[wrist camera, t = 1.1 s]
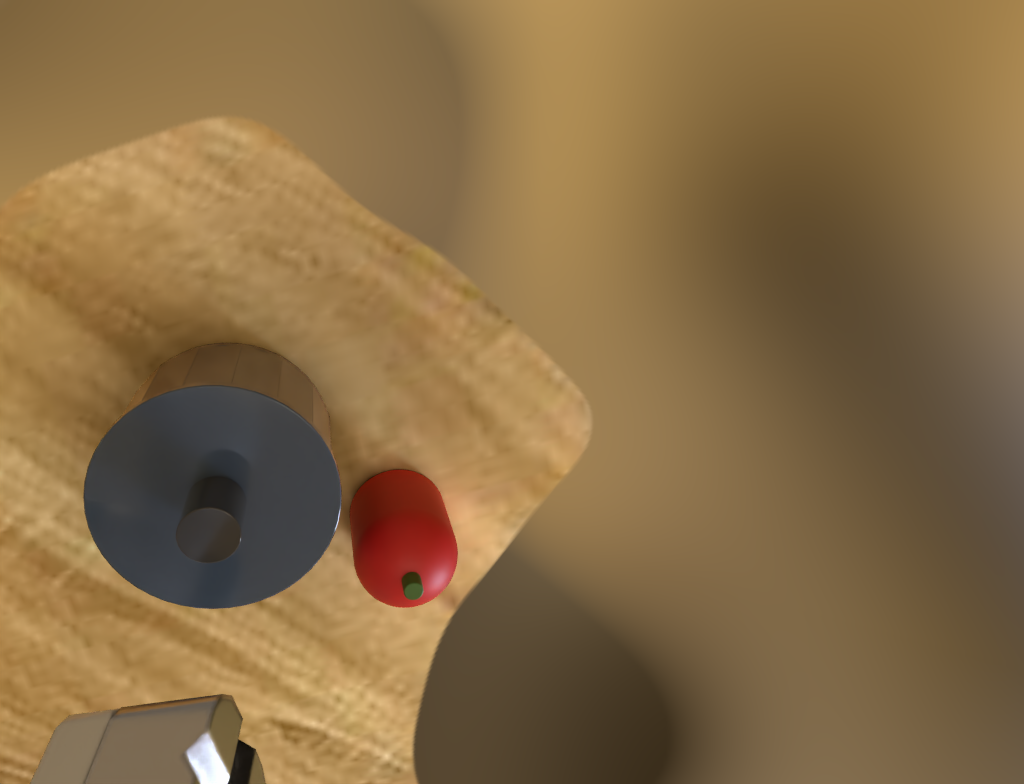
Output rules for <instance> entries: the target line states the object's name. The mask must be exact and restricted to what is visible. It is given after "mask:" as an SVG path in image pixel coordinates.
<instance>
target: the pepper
mask: <svg viewBox="0 0 1024 784" xmlns="http://www.w3.org/2000/svg"><path fill="white" fill-rule="evenodd" d="M350 525H351V536H352V547H353V558H354V566H355V570H356V573H357V576H358V578H359V580H360V582H361V584H362V585H363V587H364V588H365V589H366V590H367V591H368V593H369V594H371V595H372V596H373V597H374V598H376V599H377V600H379V601H381V602H383V603H385V604H387V605H390V606H394V607H403V608H405V607H414V606H418V605H422V604H424V603H427V602H429V601H430V600H432V599H434V598H435V597H437V596H438V595H439V594H440V593H441V592H442V591H443V590H444V589H445V588H446V586H447V585H448V584H449V582H450V581H451V579H452V577H453V574H454V571H455V569H456V564H457V555H458V551H457V543H456V539H455V536H454V533H453V530H452V527H451V524H450V521H449V517H448V514H447V511H446V508H445V505H444V502H443V499H442V496H441V494H440V492H439V490H438V488H437V487H436V486H435V485H434V483H432V482H431V481H430V480H429V479H428V478H426V477H425V476H423V475H421V474H419V473H416V472H413V471H409V470H391V471H386V472H383V473H380V474H378V475H376V476H374V477H372V478H371V479H369V480H368V481H366V482H365V483H364V484H363V485H362V486H361V487H360V489H359V490H358V491H357V493H356V494H355V496H354V498H353V500H352V503H351V507H350Z"/></svg>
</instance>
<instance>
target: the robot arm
mask: <svg viewBox="0 0 1024 784" xmlns="http://www.w3.org/2000/svg"><path fill="white" fill-rule="evenodd" d="M242 720H243V718H242V716H241V714H240V712H239V710H238V708H237V705H236V703H235V701H234V699H233V697H232V696H231V695H224V694H220V695H213V696H205V697H197V698H190V699H182V700H174V701H166V702H159V703H151V704H143V705H136V706H128V707H121V708H120V709H112V710H104V711H97V712H89V713H81V714H74V715H69V716H68V717H67V718H66V719H65V720H64V721H63V722H62V723H61V724H60V725H58V726H57V727H56V729H55V730H54V732H53V734H52V736H51V738H50V741H49V743H48V745H47V747H46V749H45V752H44V754H43V756H42V758H41V760H40V762H39V765H38V767H37V769H36V771H35V773H34V775H33V778H32V780H31V782H30V784H266V783H265V778H264V773H263V768H262V764H261V762H260V759H259V757H258V754H257V752H256V749H254V748H252V747H251V746H249V745H247V744H246V743H244V742H242V741H241V740H239V739H238V738H239V733H240V729H241V724H242Z"/></svg>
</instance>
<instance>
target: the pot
mask: <svg viewBox="0 0 1024 784" xmlns="http://www.w3.org/2000/svg"><path fill="white" fill-rule="evenodd" d="M197 382H230V383H238V384H243V385H247V386H251V387H255V388H258V389H261V390H264V391H266V392H269V393H271V394H274V395H275V396H277V397H279V398H281V399H283V400H285V401H287V402H288V403H290V404H291V405H293V406H294V407H295V408H297V409H298V410H300V411H301V412H302V413H303V414H304V415H305V416H306V417H307V418H309V419H310V420H311V421H312V422H313V424H314V425H315V426H316V427H317V428H318V429H319V431H320V432H321V433H322V435H323V436H324V438H325V439H326V441H327V443H328V444H329V446H330V448H331V450H332V444H331V428H330V416H329V413H328V411H327V409H326V406H325V404H324V401H323V399H322V397H321V395H320V393H319V392H318V390H317V388H316V387H315V385H314V384H313V383H312V382H311V380H310V379H309V378H308V377H307V376H306V375H305V374H304V373H303V372H302V371H301V370H300V369H299V368H298V367H297V366H295V365H294V364H292V363H291V362H290V361H288V360H287V359H285V358H283V357H281V356H279V355H278V354H276V353H273V352H271V351H268V350H266V349H263V348H260V347H256V346H252V345H247V344H239V343H217V344H208V345H204V346H200V347H195V348H193V349H190V350H187V351H185V352H182V353H180V354H178V355H176V356H175V357H173V358H171V359H169V360H168V361H167V362H165V363H163V364H162V365H160V367H159V368H157V369H156V370H155V371H154V372H153V373H152V374H151V375H150V376H149V378H148V379H147V380H146V381H145V383H144V384H143V385H142V386H141V387H140V388H139V389H138V390H137V391H136V393H135V395H134V396H133V398H132V400H131V401H130V403H129V405H128V406H127V408H126V410H125V412H126V411H127V410H129V409H130V408H131V407H133V406H134V405H136V404H137V403H139V402H140V401H142V400H144V399H146V398H148V397H149V396H151V395H153V394H155V393H158V392H161V391H163V390H166V389H169V388H171V387H176V386H180V385H184V384H188V383H197ZM125 412H124V413H125ZM124 413H123V414H124Z"/></svg>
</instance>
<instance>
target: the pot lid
mask: <svg viewBox="0 0 1024 784" xmlns="http://www.w3.org/2000/svg"><path fill="white" fill-rule="evenodd" d="M341 492H342V491H341V482H340V474H339V470H338V466H337V463H336V459H335V457H334V455H333V453H332V450H331V448H330V446H329V444H328V443H327V441H326V439H325V438H324V436H323V435H322V433H321V432H320V431H319V429H318V428H317V427H316V426H315V425H314V424H313V422H312V421H311V420H310V419H309V418H307V417H306V416H305V415H304V414H303V413H302V412H301V411H300V410H298V409H297V408H295V407H294V406H293V405H291V404H290V403H288V402H287V401H285V400H283V399H281V398H279V397H277V396H275V395H274V394H271V393H269V392H266V391H264V390H261V389H258V388H255V387H251V386H247V385H243V384H238V383H230V382H197V383H188V384H184V385H180V386H176V387H171V388H169V389H166V390H163V391H161V392H158V393H155V394H153V395H151V396H149V397H148V398H146V399H144V400H142V401H140V402H139V403H137V404H136V405H134V406H133V407H131V408H130V409H129V410H127V411H126V412H125V413H124V414H123V415H122V416H121V417H120V418H118V419H117V420H116V421H115V422H114V423H113V425H112V426H111V427H110V428H109V430H108V431H107V432H106V433H105V435H104V436H103V438H102V439H101V441H100V443H99V444H98V446H97V448H96V450H95V451H94V453H93V456H92V458H91V461H90V463H89V466H88V469H87V473H86V477H85V482H84V495H83V499H84V510H85V516H86V520H87V524H88V528H89V530H90V532H91V535H92V537H93V540H94V542H95V544H96V545H97V547H98V549H99V550H100V552H101V554H102V555H103V556H104V558H105V559H106V560H107V561H108V563H109V564H110V565H111V566H112V567H113V568H114V569H115V570H116V571H117V572H118V573H119V574H120V575H121V576H122V577H123V578H125V579H126V580H127V581H129V582H130V583H131V584H133V585H134V586H135V587H137V588H139V589H141V590H142V591H144V592H146V593H148V594H150V595H152V596H154V597H157V598H159V599H162V600H164V601H167V602H171V603H174V604H178V605H182V606H188V607H194V608H208V609H218V608H231V607H237V606H243V605H247V604H251V603H255V602H258V601H261V600H264V599H266V598H268V597H271V596H273V595H275V594H277V593H279V592H281V591H283V590H285V589H286V588H288V587H290V586H291V585H292V584H294V583H295V582H297V581H298V580H299V579H301V578H302V577H303V576H304V575H305V574H306V573H307V572H308V571H310V570H311V569H312V567H313V566H314V565H315V564H316V563H317V562H318V560H319V559H320V558H321V557H322V555H323V554H324V552H325V551H326V549H327V548H328V546H329V544H330V542H331V540H332V538H333V536H334V533H335V531H336V527H337V524H338V521H339V517H340V510H341Z"/></svg>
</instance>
